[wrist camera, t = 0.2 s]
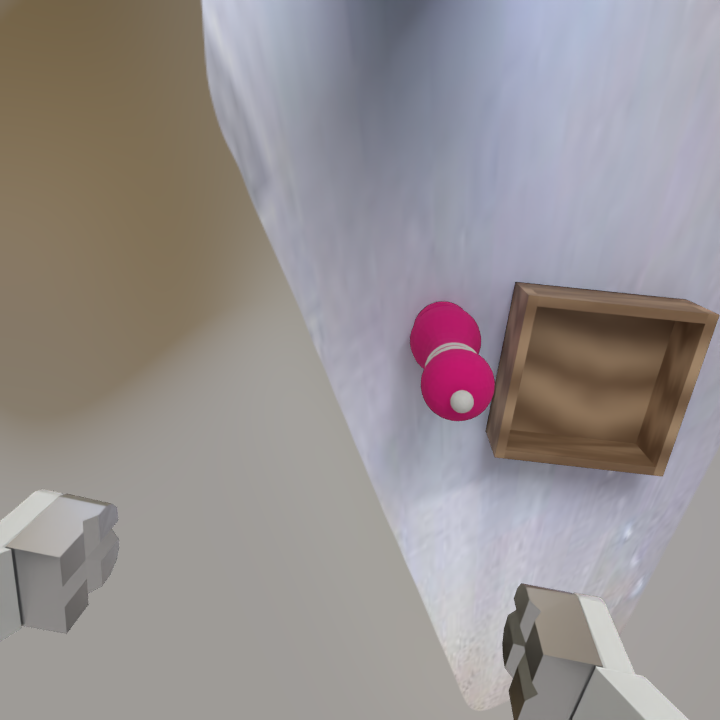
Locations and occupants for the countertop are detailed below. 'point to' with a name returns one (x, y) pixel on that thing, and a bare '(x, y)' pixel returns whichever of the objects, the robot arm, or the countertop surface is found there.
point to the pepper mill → (451, 362)
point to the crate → (596, 377)
